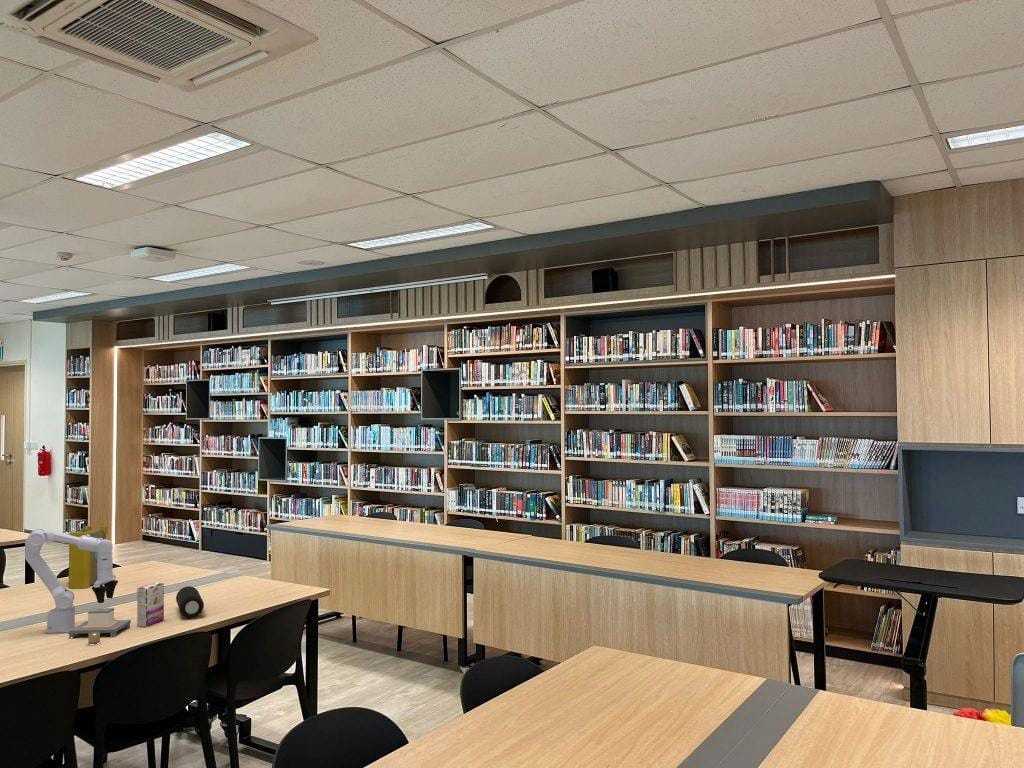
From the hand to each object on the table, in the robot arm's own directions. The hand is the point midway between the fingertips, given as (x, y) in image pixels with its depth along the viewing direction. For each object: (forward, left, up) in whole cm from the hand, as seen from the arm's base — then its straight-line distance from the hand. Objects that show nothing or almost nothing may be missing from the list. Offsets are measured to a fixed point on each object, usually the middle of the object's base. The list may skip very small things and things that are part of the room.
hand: (105, 600), depth 313 cm
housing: (+4, -11, -7) cm, 14 cm away
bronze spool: (+9, -26, -11) cm, 30 cm away
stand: (+4, -11, -10) cm, 16 cm away
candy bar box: (+19, +1, -11) cm, 21 cm away
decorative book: (-48, +82, -11) cm, 96 cm away
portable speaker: (+29, +17, -11) cm, 35 cm away
